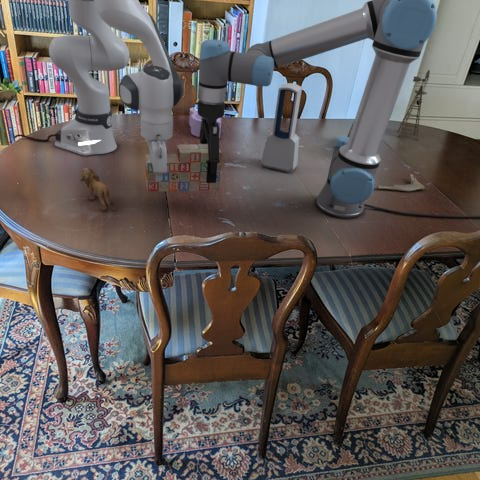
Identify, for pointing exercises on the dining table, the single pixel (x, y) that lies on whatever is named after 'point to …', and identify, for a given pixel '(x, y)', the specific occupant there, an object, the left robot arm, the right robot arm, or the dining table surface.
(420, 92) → the miniature windmill
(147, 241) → the dining table surface
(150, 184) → the stack of blocks
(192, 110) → the clip
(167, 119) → the left robot arm
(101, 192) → the lion figurine
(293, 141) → the electronic device
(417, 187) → the jawbone
